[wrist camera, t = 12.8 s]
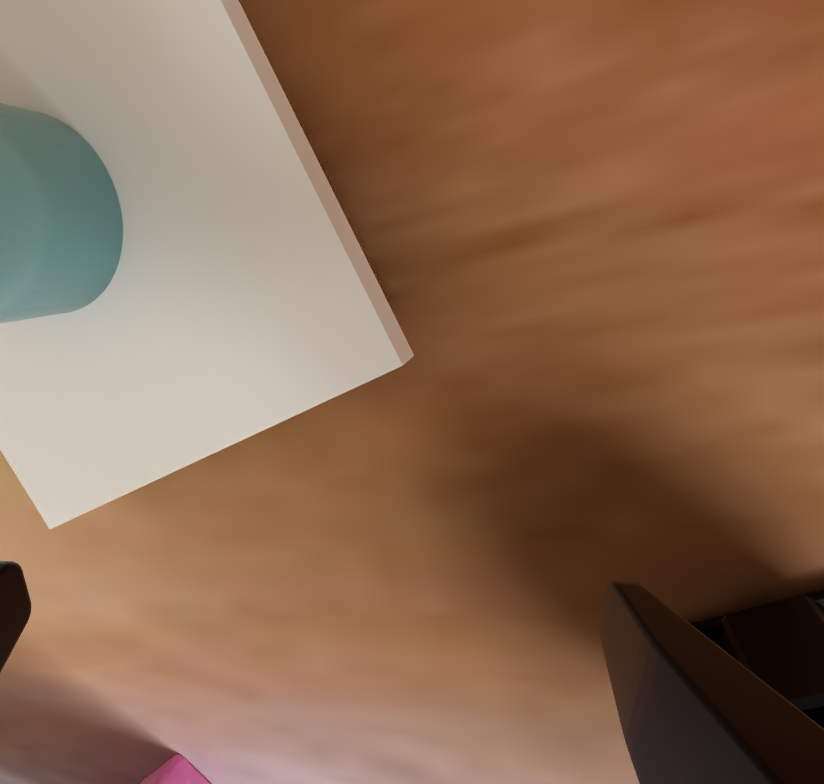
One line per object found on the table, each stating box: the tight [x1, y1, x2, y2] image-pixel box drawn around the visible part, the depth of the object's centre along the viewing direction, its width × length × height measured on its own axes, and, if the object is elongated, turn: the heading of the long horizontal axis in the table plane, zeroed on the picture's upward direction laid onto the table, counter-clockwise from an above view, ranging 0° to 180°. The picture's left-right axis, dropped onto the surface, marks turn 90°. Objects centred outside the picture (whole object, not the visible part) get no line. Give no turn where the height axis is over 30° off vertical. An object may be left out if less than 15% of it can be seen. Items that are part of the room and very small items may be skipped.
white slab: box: [0, 0, 414, 529], centre depth 19 cm, size 18×15×4 cm
